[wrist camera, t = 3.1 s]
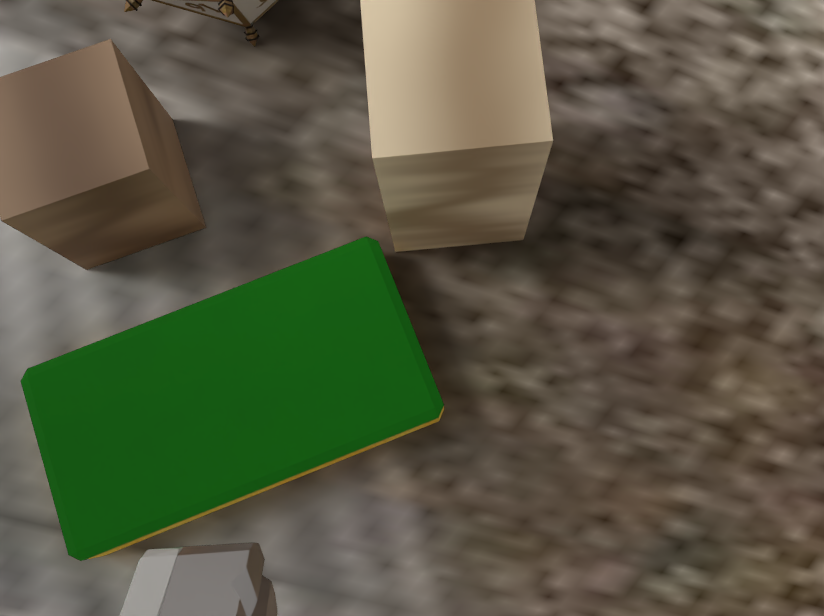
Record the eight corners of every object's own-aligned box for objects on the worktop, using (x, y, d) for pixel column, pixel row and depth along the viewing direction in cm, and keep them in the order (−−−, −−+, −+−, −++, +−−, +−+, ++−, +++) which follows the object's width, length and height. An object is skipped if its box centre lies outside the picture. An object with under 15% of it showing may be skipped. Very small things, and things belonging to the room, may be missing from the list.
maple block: (395, 251, 30) (372, 158, 21) (385, 133, 31) (360, -2, 22) (523, 240, 30) (553, 140, 21) (509, 121, 31) (532, -20, 22)
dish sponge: (447, 418, 29) (447, 413, 27) (100, 558, 29) (69, 565, 26) (380, 251, 31) (374, 231, 28) (50, 380, 30) (16, 371, 28)
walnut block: (87, 270, 31) (1, 220, 25) (57, 160, 32) (-32, 88, 26) (206, 228, 31) (149, 168, 25) (172, 119, 32) (110, 39, 26)
